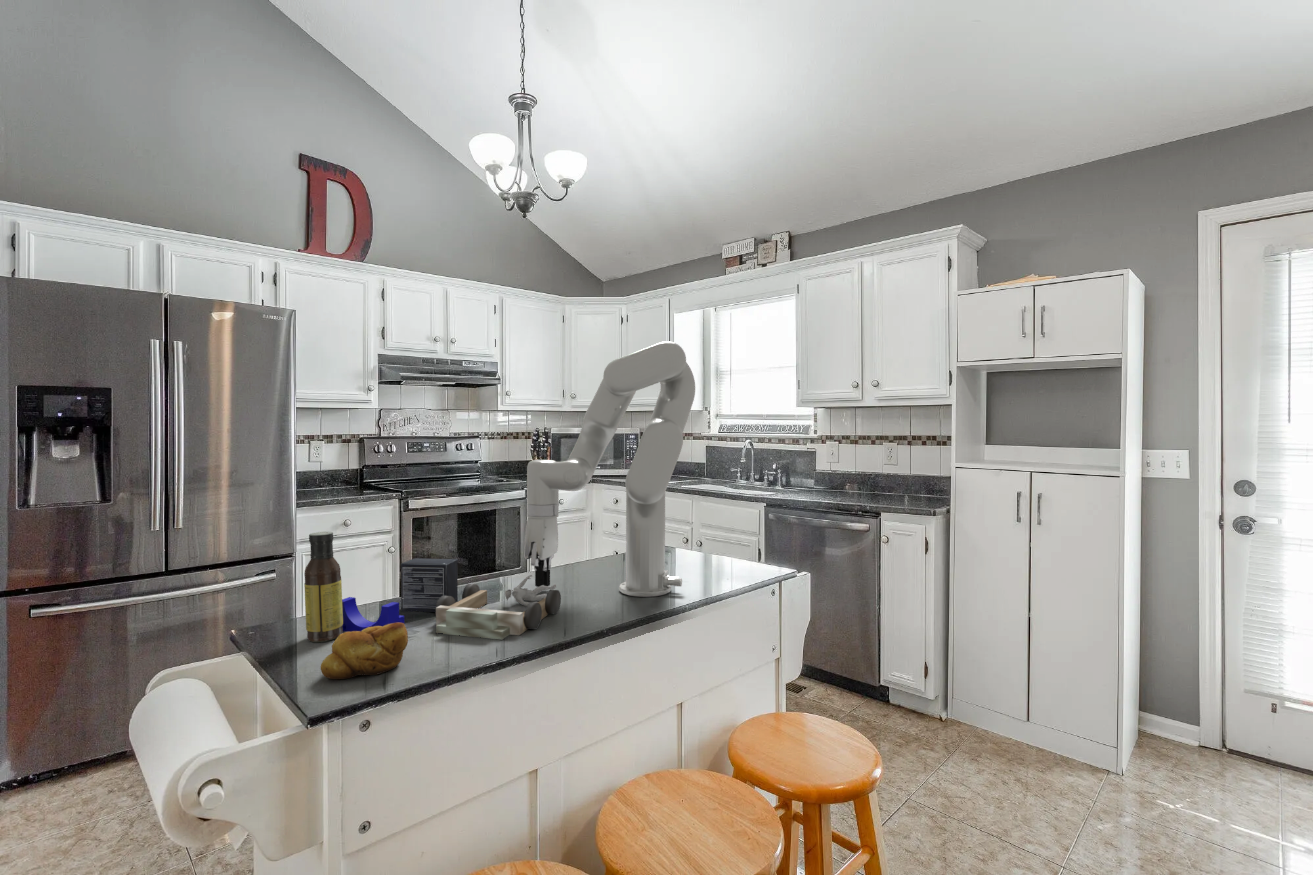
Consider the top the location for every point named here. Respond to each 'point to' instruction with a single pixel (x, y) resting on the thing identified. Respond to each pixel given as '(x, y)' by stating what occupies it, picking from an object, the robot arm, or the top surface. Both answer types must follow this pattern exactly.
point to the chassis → (489, 615)
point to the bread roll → (366, 651)
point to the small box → (427, 583)
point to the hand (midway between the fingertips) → (542, 585)
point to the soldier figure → (527, 593)
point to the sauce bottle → (323, 590)
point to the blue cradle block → (359, 623)
